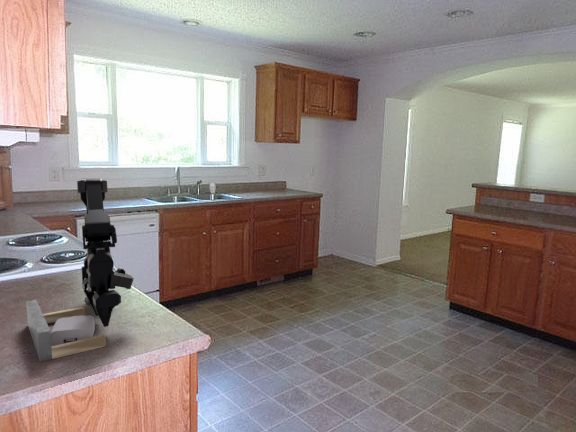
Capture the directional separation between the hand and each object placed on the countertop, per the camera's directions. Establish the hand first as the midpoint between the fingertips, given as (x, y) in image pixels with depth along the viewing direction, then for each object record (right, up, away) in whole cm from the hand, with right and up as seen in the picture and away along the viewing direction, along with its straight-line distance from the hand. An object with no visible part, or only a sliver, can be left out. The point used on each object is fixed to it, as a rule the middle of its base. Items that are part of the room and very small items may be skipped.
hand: (102, 320), depth 118 cm
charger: (-5, -3, -5) cm, 7 cm away
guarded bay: (-7, -3, -5) cm, 10 cm away
